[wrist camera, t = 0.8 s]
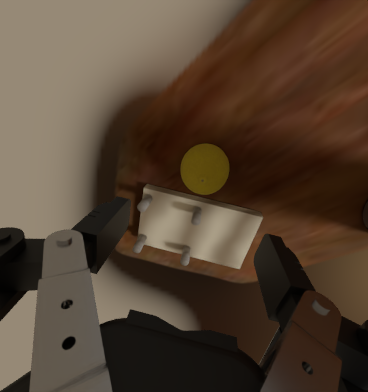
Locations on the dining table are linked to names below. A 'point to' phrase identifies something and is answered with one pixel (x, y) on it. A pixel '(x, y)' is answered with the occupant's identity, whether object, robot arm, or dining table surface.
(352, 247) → the dining table surface
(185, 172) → the lemon
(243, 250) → the peg board
